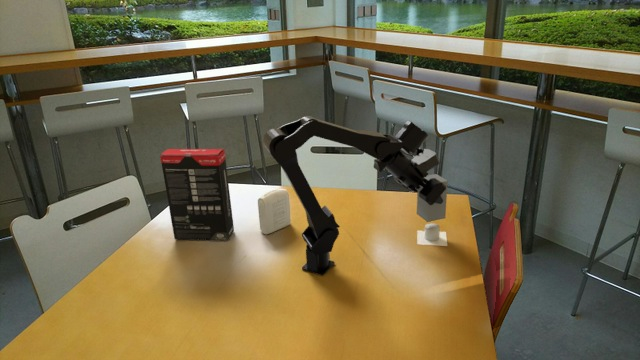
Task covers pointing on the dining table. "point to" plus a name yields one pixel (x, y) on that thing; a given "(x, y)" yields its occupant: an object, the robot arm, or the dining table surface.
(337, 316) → the dining table surface
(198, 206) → the graphics card box
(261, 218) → the photo printer
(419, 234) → the base
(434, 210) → the tall grey box
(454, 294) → the dining table surface
